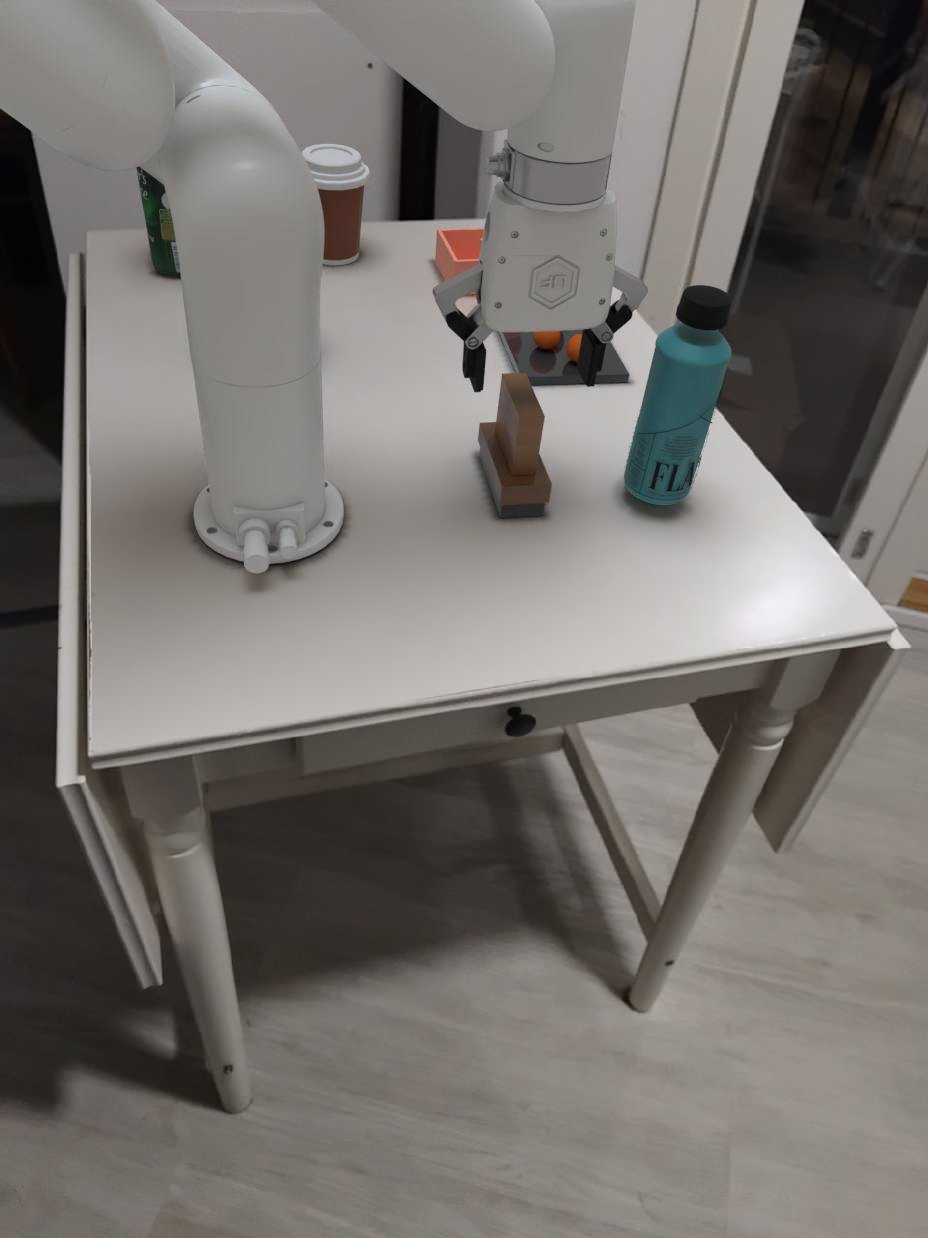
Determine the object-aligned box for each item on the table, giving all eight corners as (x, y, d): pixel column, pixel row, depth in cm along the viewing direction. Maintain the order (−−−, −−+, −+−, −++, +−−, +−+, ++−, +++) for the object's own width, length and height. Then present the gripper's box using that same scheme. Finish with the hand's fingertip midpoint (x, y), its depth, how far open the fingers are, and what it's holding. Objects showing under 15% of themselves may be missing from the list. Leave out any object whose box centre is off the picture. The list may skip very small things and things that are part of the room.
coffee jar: (151, 244, 117) (125, 78, 104) (217, 244, 119) (200, 79, 106) (150, 280, 110) (123, 107, 97) (220, 279, 112) (202, 108, 99)
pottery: (435, 262, 120) (439, 182, 113) (506, 259, 122) (515, 180, 115) (471, 331, 108) (478, 246, 101) (549, 327, 110) (562, 244, 103)
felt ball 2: (595, 367, 102) (600, 342, 100) (568, 368, 102) (572, 343, 100) (587, 353, 104) (592, 328, 102) (561, 354, 104) (565, 329, 102)
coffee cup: (307, 273, 115) (303, 170, 106) (288, 241, 121) (283, 141, 112) (378, 266, 118) (380, 165, 109) (356, 236, 123) (356, 138, 115)
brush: (546, 517, 85) (563, 425, 78) (497, 519, 84) (510, 427, 77) (521, 452, 92) (534, 363, 85) (476, 454, 91) (485, 364, 84)
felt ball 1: (561, 354, 104) (565, 329, 102) (534, 354, 103) (538, 329, 101) (554, 340, 106) (558, 315, 104) (528, 341, 105) (532, 315, 103)
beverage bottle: (634, 523, 85) (689, 315, 71) (607, 479, 89) (653, 276, 75) (699, 515, 87) (765, 311, 73) (669, 473, 91) (726, 272, 77)
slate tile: (627, 382, 103) (629, 374, 102) (520, 385, 100) (522, 377, 100) (596, 328, 111) (598, 320, 110) (497, 329, 109) (498, 321, 108)
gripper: (447, 193, 64) (437, 410, 76) (687, 190, 67) (641, 399, 79) (429, 153, 69) (423, 362, 81) (653, 151, 72) (614, 353, 84)
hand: (530, 380), depth 80 cm, fingers open, 9 cm apart
